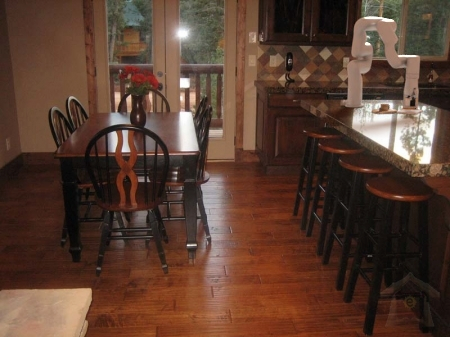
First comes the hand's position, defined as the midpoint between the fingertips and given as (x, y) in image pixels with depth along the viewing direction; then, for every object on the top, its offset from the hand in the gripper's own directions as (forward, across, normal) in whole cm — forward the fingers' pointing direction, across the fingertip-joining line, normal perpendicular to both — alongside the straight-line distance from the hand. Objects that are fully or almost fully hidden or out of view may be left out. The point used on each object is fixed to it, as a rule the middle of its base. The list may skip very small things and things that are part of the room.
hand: (410, 105), depth 287 cm
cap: (0, 0, 0) cm, 0 cm away
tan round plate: (+4, -6, -14) cm, 16 cm away
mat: (+4, 0, 0) cm, 4 cm away
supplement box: (+4, -16, +6) cm, 18 cm away
